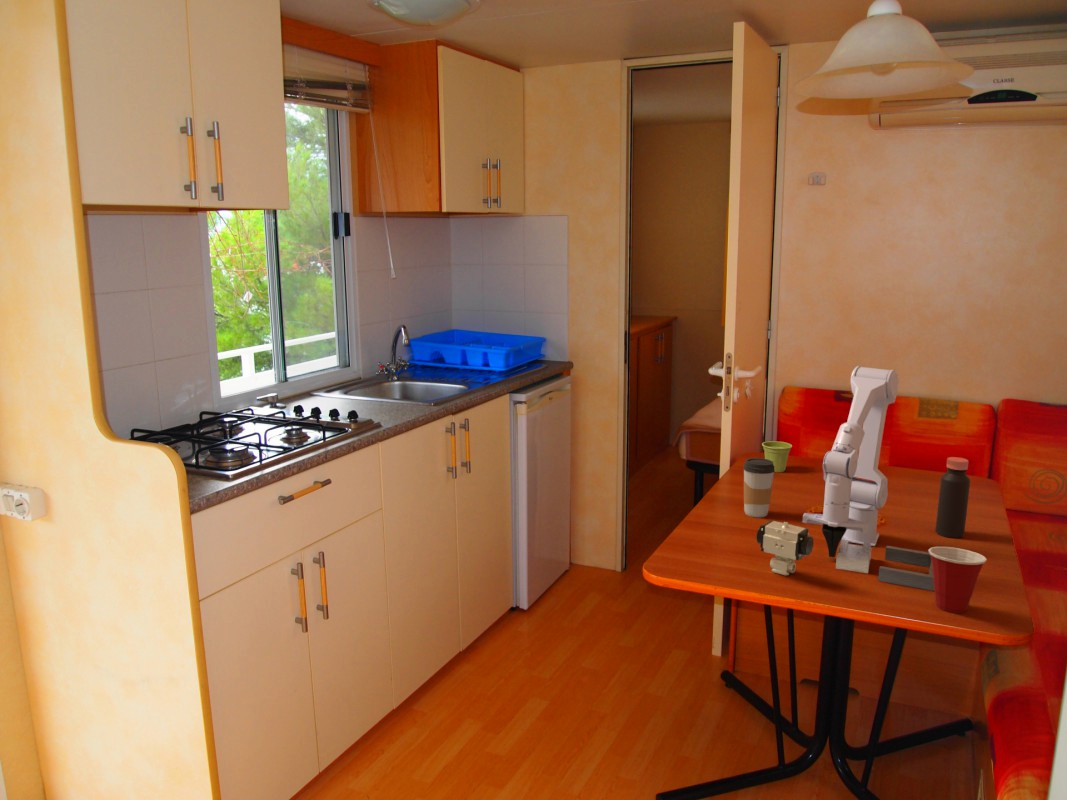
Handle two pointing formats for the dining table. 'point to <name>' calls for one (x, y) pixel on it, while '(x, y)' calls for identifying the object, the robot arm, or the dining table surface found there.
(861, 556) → the block
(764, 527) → the pneumatic valve
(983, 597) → the dining table surface
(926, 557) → the dock
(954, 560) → the plastic cup
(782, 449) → the plant pot
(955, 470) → the bottle
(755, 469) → the coffee cup
